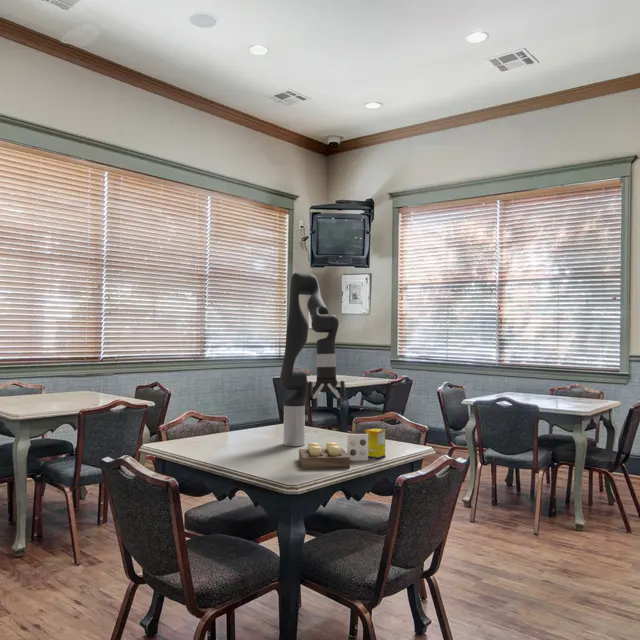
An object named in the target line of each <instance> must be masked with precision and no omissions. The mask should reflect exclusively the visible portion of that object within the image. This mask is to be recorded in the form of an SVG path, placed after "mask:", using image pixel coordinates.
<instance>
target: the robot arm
mask: <svg viewBox="0 0 640 640" xmlns="http://www.w3.org/2000/svg"><path fill="white" fill-rule="evenodd" d="M289 285H290V286H289V311H288V317H287V325H286V326H287V327H286V333H285V334H286V337H285V346H284V355H283V362H282V366H281V371H280V379H279V380H280V387H281V388H282V390H284V391H293V393H292V394H290V395H289V396H287V397H286V398H284V400H283V446H286V447H301V446H304V445H305V442H306V441H305V436H306V435H305V429H306V428H305V425H306V424H305V421H306V420H305V417H306V416H305V415H306V414H305V413H306V411H305V410H306V409H305V408H306V406H305V405H306V399H307V396H308V397H309V398H311V399H312V401H313V402H312V403H313V405H312V406H313V408H314V409H317V410H318V408H319V405H318V404H319V403H318V397H319V395H321V393H333V394H334V395H335V397H336V408H337V409H340V407H342V398H343V397H345V396H346V395H347V394H346V384H345V381H344V380H340V381H338V380H337V362H336V361H337V360H336V351H335V350H336V349H335V345H336V337H337V333H338V330H339V326H340V325H339V324H340V323H339V319H338V316H337V315H336V314H329V309H328V308H327V306H326V304H325V302H324V300H323V296H322V291H321V289H320V283H319V281H318V278H317V276H316V275H315V274H312V273H303V272H294V273H292V275H291V278H290V283H289ZM301 295H302V296H309V298H308V299H307V304H306V305H307V310H308V312H309V315H310V317H311V329H312V330H313V331H314V332H316V333H327V336H326V337H323V338H320V339H318V340H317V341H316V359H315V360H316V362H315V366H316V381H309V382H308V376H307V375H308V374H307V372H306V370H305V369H303V368H294V365H295V362H296V359H297V357H298V355H299V354H300V353H301V351H302V350H303V348H304V347H305V345H306V344H307V342H308V334H309V322H308V321H307V319H306V316H305V315H304V313H303V310H302V308H301V305H300V296H301ZM307 386H308V387H307ZM315 386H316V387H317V389H316V391H315V392H313V391H314V389H313V388H314V387H315ZM337 386H339V387H340V391H341V393H340V392H339V391H338V389H336V388H337ZM307 388H308V390H307ZM307 392H308V393H307ZM313 393H314V394H313Z"/></svg>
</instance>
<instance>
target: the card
mask: <svg viewBox="0 0 640 640" xmlns="http://www.w3.org/2000/svg"><path fill="white" fill-rule="evenodd" d="M346 442H347V443H346V444H347V445H346V446H347V451H346V453H347V455H348V456H349V457H350V460H352V461H369V458H368V434H365V433H347V441H346Z"/></svg>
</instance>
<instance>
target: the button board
mask: <svg viewBox="0 0 640 640" xmlns="http://www.w3.org/2000/svg"><path fill="white" fill-rule="evenodd" d="M299 460H300V461H299ZM298 461H299V463H300V465H301V467H302V470H329V469H330V470H337V469H338V468H348V469H351V465H350V464H351V463H350V462H351V461H350V457H349V456H348V455H347V451H345V450H344V449H343V448H340V456H329V453H328V452H326V448H321V456H316V457H312V456H310V453H309V452H308V448H299V449H298ZM333 468H334V469H333ZM336 468H337V469H336Z"/></svg>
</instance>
